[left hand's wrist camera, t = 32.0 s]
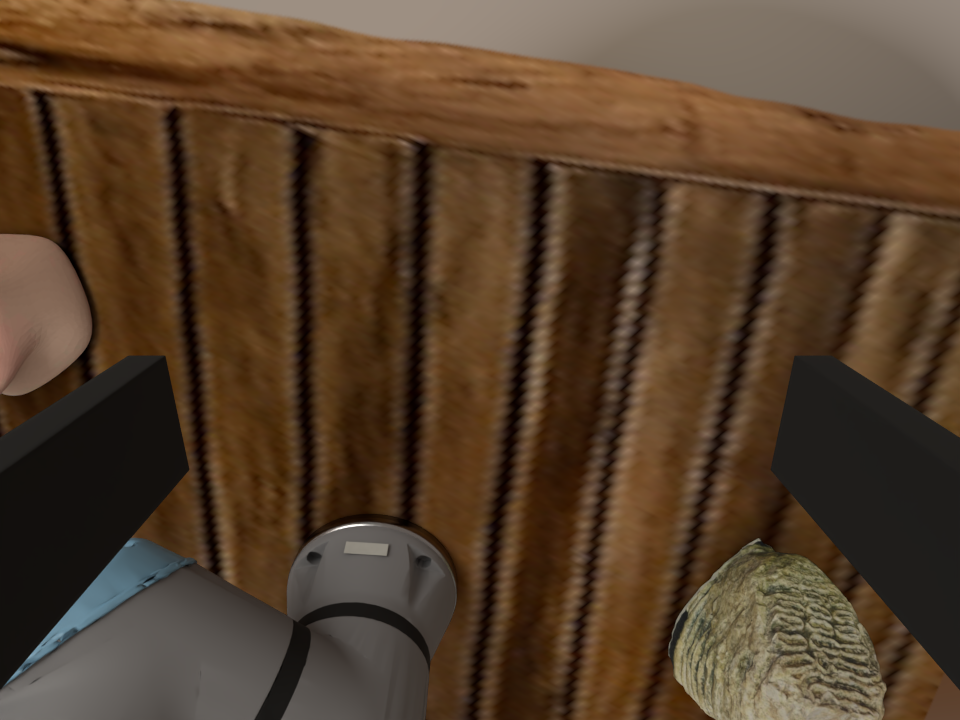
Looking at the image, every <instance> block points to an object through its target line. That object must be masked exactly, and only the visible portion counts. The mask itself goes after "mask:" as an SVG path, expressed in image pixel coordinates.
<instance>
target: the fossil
mask: <svg viewBox="0 0 960 720" xmlns="http://www.w3.org/2000/svg"><path fill="white" fill-rule="evenodd" d="M669 657H670V659H671V661H672V664H673V672H674V677H675V679H676V680H677V681H678V682H679V683H680V684H681V685H682V686H684V688H685V691H686V692H687V693H688V694H689V695H690V696H691V697H692V698H693V699H694V700H695V701H696V702H697V704H698V705H699V706H700V708H701V709H703V710H704V711H705V713H706V714H707V715H709V716H711V717H712V718H714V719H716V720H882V718H883V715H884V710H885V709H884V705H883V697H884V693H885V692H886V690H887V689H886V684H885V683H884V682H883V681H882V679H881V674H880V671H879V663H878V660H877V657H876V654H875V650H874V646H873V643H872V641H871V639H870V637H869V635H868V633H867V631H866V629H865V628H864V627H863V626H862V625H861V623H860V622H859V621H858V618H857V615H856V613H855V611H854V609H853V607H852V605H851V603H849V602H848V601H847V599H846V597H844V596H843V594H842V593H841V592H840V590H839V589H838V588H837V587H836V586H835V585H834V584H833V583H832V582H831V580H830V579H829V578H828V577H827V576H826V575H825V573H824V572H822V571H821V570H820V569H819V568H818V567H817V565H815V564H814V563H812V562H811V561H810V560H809V559H807V558H806V557H803V556H801V555H798V554H787V553H778V552H775V551H774V550H773V548H772V547H771V546H768V545H766V544H763V542H762V541H761V540H760V539H759V538H758V539H756V540H754V541H753V542H751V543H749V544H747V545H746V546H744V547H743V548H742V549H741V550H740V551H739V552H738V553H737V554H736V555H735V556H733V557H732V558H731V559H730V560H728V561H727V562H726V563H724V564H723V566H722V567H721V568H720V569H719V570H717V571H716V572H715V573H714V574H713V576H712V577H711V579H710V580H709V581H707V582H706V583H705V584H704V585H702V586H701V587H700V589H699V590H698V591H697V592H696V594H695V595H694V596H693V597H692V598H691V600H690V601H689V602H688V603H687V605H686V606H685V607H684V609H683V610H682V612H681V613H680V615H679V616H678V618H677V620H676V624H675V627H674V630H673V632H672V639H671V641H670V643H669Z"/></svg>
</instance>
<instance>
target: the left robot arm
mask: <svg viewBox="0 0 960 720" xmlns="http://www.w3.org/2000/svg"><path fill="white" fill-rule="evenodd" d="M188 471H189V466H188V461H187V456H186V452H185V447H184V442H183V438H182V433H181V428H180V423H179V419H178V414H177V409H176V404H175V400H174V395H173V390H172V385H171V381H170V376H169V371H168V367H167V362H166V357H165V356H127V357H126V358H124V359H123V360H121V361H120V362H118V363H116V364H115V365H113V366H112V367H110V368H109V369H107V370H105V371H104V372H102V373H101V374H99V375H98V376H96V377H95V378H93V379H91V380H90V381H88V382H87V383H85V384H84V385H82V386H80V387H79V388H77V389H76V390H74V391H73V392H71V393H69V394H68V395H66V396H65V397H63V398H62V399H60V400H59V401H57V402H55V403H54V404H52V405H51V406H49V407H48V408H46V409H44V410H43V411H41V412H40V413H38V414H37V415H35V416H33V417H32V418H30V419H29V420H27V421H26V422H24V423H23V424H21V425H19V426H18V427H16V428H15V429H13V430H12V431H10V432H8V433H7V434H5V435H4V436H2V437H1V438H0V720H425V718H426V706H427V695H428V683H429V670H430V662H431V659H432V657H433V655H434V653H435V651H436V649H437V647H438V645H439V643H440V641H441V639H442V637H443V635H444V633H445V631H446V629H447V627H448V625H449V623H450V621H451V618H452V615H453V613H454V610H455V605H456V597H457V576H456V571H455V567H454V564H453V562H452V559H451V558H450V556H449V554H448V552H447V551H446V550H445V548H444V547H443V546H442V545H441V543H440V542H439V541H438V540H437V539H436V538H435V537H433V536H432V535H431V534H430V533H428V532H427V531H425V530H424V529H422V528H421V527H419V526H417V525H415V524H413V523H411V522H408V521H406V520H403V519H400V518H396V517H392V516H387V515H379V514H360V515H353V516H347V517H344V518H340V519H337V520H334V521H332V522H330V523H328V524H326V525H324V526H322V527H321V528H319V529H318V530H316V531H315V532H314V533H313V534H312V535H310V536H309V537H308V538H307V540H306V541H305V542H304V543H303V545H302V546H301V548H300V549H299V551H298V553H297V555H296V558H295V560H294V562H293V565H292V567H291V570H290V573H289V577H288V585H287V615H285V614H283V613H282V612H280V611H278V610H276V609H274V608H273V607H271V606H269V605H267V604H266V603H264V602H262V601H260V600H258V599H257V598H255V597H253V596H251V595H249V594H248V593H246V592H244V591H242V590H241V589H239V588H237V587H236V586H234V585H232V584H230V583H229V582H227V581H225V580H224V579H222V578H220V577H218V576H217V575H215V574H213V573H212V572H210V571H208V570H207V569H205V568H203V567H201V566H200V565H198V564H197V561H196V560H195V559H193V558H184V557H182V556H180V555H178V554H176V553H174V552H171V551H169V550H167V549H165V548H163V547H161V546H159V545H157V544H156V543H154V542H152V541H149V540H146V539H142V538H131V537H132V536H133V535H134V534H135V532H136V531H137V530H138V529H139V528H140V527H141V525H142V524H143V523H144V522H145V521H146V520H147V518H148V517H149V516H150V515H151V514H152V513H153V512H154V510H155V509H156V508H157V507H158V506H159V505H160V503H161V502H162V501H163V500H164V499H165V498H166V496H167V495H168V494H169V493H170V492H171V491H172V489H173V488H174V487H175V486H176V485H177V484H178V482H179V481H180V480H181V479H182V478H183V477H184V475H185V474H186V473H187V472H188ZM771 471H772V472H773V473H774V474H775V475H776V477H777V478H778V479H779V480H780V481H781V482H782V484H783V485H784V486H785V487H786V488H787V489H788V491H789V492H790V493H791V494H792V495H793V496H794V498H795V499H796V500H797V501H798V502H799V503H800V505H801V506H802V507H803V508H804V509H805V510H806V512H807V513H808V514H809V515H810V516H811V517H812V518H813V520H814V521H815V522H816V523H817V524H818V525H819V527H820V528H821V529H822V530H823V531H824V532H825V534H826V535H827V536H828V537H829V538H830V539H831V541H832V542H833V543H834V544H835V545H836V546H837V548H838V549H839V550H840V551H841V552H842V553H843V555H844V556H845V557H846V558H847V559H848V560H849V562H850V563H851V564H852V565H853V566H854V567H855V569H856V570H857V571H858V572H859V573H860V574H861V576H862V577H863V578H864V579H865V580H866V581H867V583H868V584H869V585H870V586H871V587H872V588H873V590H874V591H875V592H876V593H877V594H878V595H879V597H880V598H881V599H882V600H883V601H884V602H885V604H886V605H887V606H888V607H889V608H890V609H891V611H892V612H893V613H894V614H895V615H896V616H897V618H898V619H899V620H900V621H901V622H902V623H903V625H904V626H905V627H906V628H907V629H908V630H909V632H910V633H911V634H912V635H913V636H914V637H915V638H916V640H917V641H918V642H919V643H920V644H921V645H922V647H923V648H924V649H925V650H926V651H927V652H928V654H929V655H930V656H931V657H932V658H933V659H934V661H935V662H936V663H937V664H938V665H939V666H940V668H941V669H942V670H943V671H944V672H945V673H946V675H947V676H948V677H949V678H950V679H951V680H952V682H953V683H954V684H955V685H956V686H957V687H958V689H959V690H960V438H959V437H958V436H956V435H955V434H953V433H952V432H950V431H948V430H947V429H945V428H944V427H942V426H941V425H939V424H937V423H936V422H934V421H933V420H931V419H930V418H928V417H927V416H925V415H923V414H922V413H920V412H919V411H917V410H916V409H914V408H912V407H911V406H909V405H908V404H906V403H905V402H903V401H901V400H900V399H898V398H897V397H895V396H894V395H892V394H891V393H889V392H887V391H886V390H884V389H883V388H881V387H880V386H878V385H876V384H875V383H873V382H872V381H870V380H869V379H867V378H865V377H864V376H862V375H861V374H859V373H858V372H856V371H855V370H853V369H851V368H850V367H848V366H847V365H845V364H844V363H842V362H840V361H839V360H837V359H836V358H834V357H833V356H795V357H794V362H793V366H792V371H791V376H790V381H789V385H788V390H787V395H786V400H785V404H784V409H783V414H782V419H781V423H780V428H779V433H778V438H777V442H776V447H775V452H774V456H773V461H772V466H771Z"/></svg>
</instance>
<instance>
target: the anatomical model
mask: <svg viewBox="0 0 960 720" xmlns="http://www.w3.org/2000/svg"><path fill="white" fill-rule="evenodd" d="M91 335H92V317H91V312H90V307H89V304H88V300H87V297H86V294H85V292H84V289H83V287H82V284H81V282H80V280H79V278H78V275H77V273H76V271H75V269H74V267H73V266H72V264H71V262H70V260H69V259H68V257H67V255H66V254H65V253H64V252H63V250H62V249H61V248H60V247H59V246H58V245H57V244H55V243H54V242H53V241H51V240H49V239H46V238H43V237H39V236H32V235H17V234H0V394H1V393H2V394H5V395H12V396H16V395H23V394H26V393H28V392H31V391H33V390H35V389H37V388H39V387H40V386H42V385H44V384H45V383H47V382H48V381H50V380H51V379H53V378H54V377H56V376H57V375H58V374H60V373H61V372H62V371H63V370H65V369H66V368H67V367H68V366H70V365H71V364H72V363H73V362H74V361H75V360H76V359H77V358H78V357H79V356H80V355H81V354H82V353H83V351H84V350H85V349H86V347H87V345H88V344H89V341H90V339H91Z"/></svg>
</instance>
